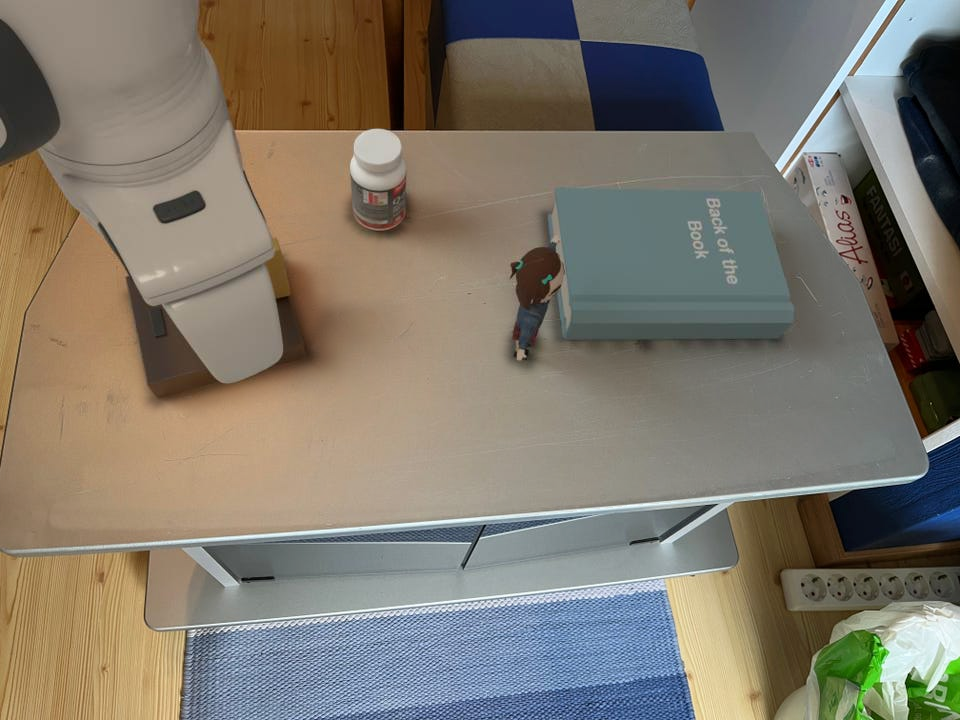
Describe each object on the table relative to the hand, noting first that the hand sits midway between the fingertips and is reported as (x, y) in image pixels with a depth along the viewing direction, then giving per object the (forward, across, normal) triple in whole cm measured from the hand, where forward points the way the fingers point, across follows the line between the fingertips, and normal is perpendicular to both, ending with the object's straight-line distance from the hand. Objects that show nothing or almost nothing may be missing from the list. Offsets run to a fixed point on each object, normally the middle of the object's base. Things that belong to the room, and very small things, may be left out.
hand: (205, 290), depth 49 cm
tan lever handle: (+19, -11, +4) cm, 22 cm away
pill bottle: (+22, -17, +21) cm, 35 cm away
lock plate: (+22, -11, +1) cm, 25 cm away
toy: (+22, +5, +25) cm, 34 cm away
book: (+23, +5, +44) cm, 49 cm away
